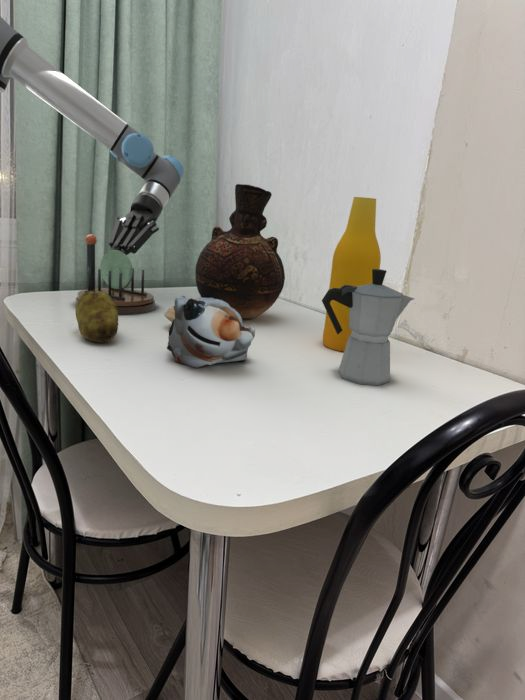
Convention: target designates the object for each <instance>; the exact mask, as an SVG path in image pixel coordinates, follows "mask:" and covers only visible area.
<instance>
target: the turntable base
mask: <svg viewBox="0 0 525 700" xmlns="http://www.w3.org/2000/svg"><path fill="white" fill-rule="evenodd" d="M78 300H79V299H78V296H76V297H75V306H76V305H77V302H78ZM117 308H118V316H120V315H121V316H122V315H124V316H125V315H127V316H128V315H139V314H145V313H146V314H147V313H149V312H152V311H154V310H155V309H156V300H155V299H154V300H153V302H151V303H149V304H145V305H138V306H117Z"/></svg>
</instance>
